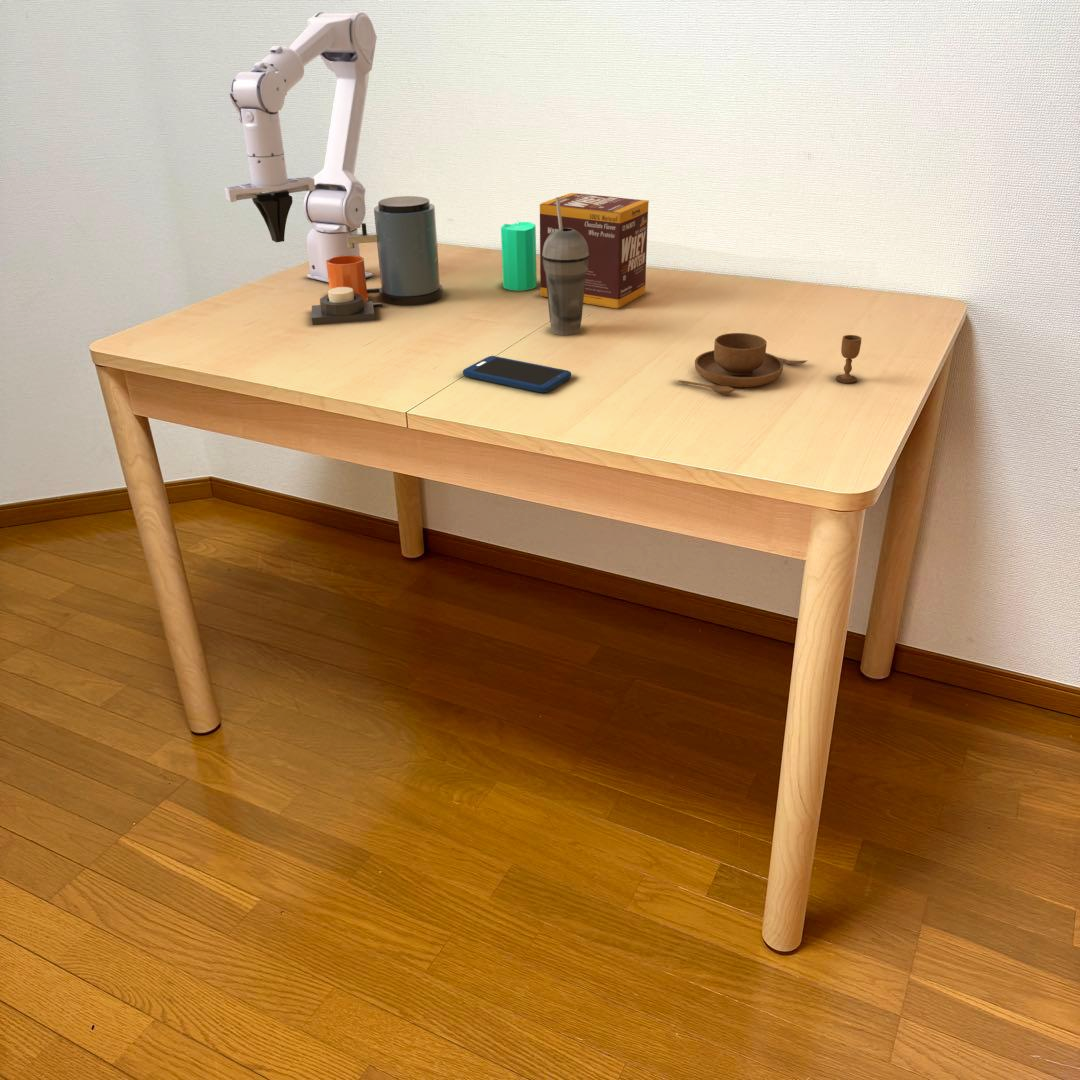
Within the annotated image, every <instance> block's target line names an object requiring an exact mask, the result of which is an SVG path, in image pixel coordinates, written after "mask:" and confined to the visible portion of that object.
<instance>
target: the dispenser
mask: <svg viewBox="0 0 1080 1080" xmlns="http://www.w3.org/2000/svg"><path fill="white" fill-rule="evenodd" d="M373 216H374V224H375V226H374V227H375V232H372V233H371V232H370V233H368V232H367V224H366V222H362V224H361V233H358V234H353V235H348V241H347V242H348V248H355V245H354V243H359V244H368V243H376V246H377V256H378V267H379V277H380V278H379V279H380V287H375V288H367V294H370V293H372V294H373V293H379V299H380V301H381V302H375V303H374V302H373V306H374V309H376V308H383V306H384V305H383V303H384V304H387V305H391V306H398V307H413V306H416V307H417V306H424V305H429V304H432V303H436V302H437V301H440V300H441V299H443V297H444V291H443V290H444V289H443V286H442V284H441V281H440V265H439V252H438V250H439V249H438V237H437V236H438V235H437V222H436V207H435V205H434V204H433V203H430V199H429V198H427V197H424V196H418V195H417V196H415V195H402V196H401V195H400V196H392V197H387V198H383V199H380V200H379V201H378V202H377V206H375V207H374V208H373Z"/></svg>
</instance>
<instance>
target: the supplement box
mask: <svg viewBox="0 0 1080 1080" xmlns="http://www.w3.org/2000/svg"><path fill="white" fill-rule="evenodd" d="M558 197H559V202H560V210H561V218H562V227H563V228H572V229H574V230H576V231H578V232H579V233H580V234H581V235H582V236H583V237H584V239H585V240H586V243H587V245H588V252H589V255H590V258H588V267H587V271H586V276H585V287H584V299H583V304H586V305H592V306H599V307H605V308H611V309H620V308H622V307H623V306H625V305H627V304H629V303H630V302H632V301H634V300H636V299H638V298H640V297H641V296H643V295H645V294H646V281H647V280H646V279H647V278H646V277H647V252H648V227H649V226H648V225H649V203H650V200H646V199H637V198H636V199H635V198H628V197H627V198H625V197H617V196H610V195H598V194H587V193H578V192H569V193H566V194H563V195H560V196H558ZM557 229H559V222H558V214H557V205H556V197H555V198H552V199H549V200H546V201H544V202H541V203H539V282H540V283H539V296H541V297H544V298H548V295H547V285H546V275H545V271H544V266H543V259H542V258H541V257H542V253H543V247H544V243H545V241H546V239H547V238H548V236H549V235H550V234H551V233H552V232H554V231H555V230H557Z"/></svg>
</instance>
